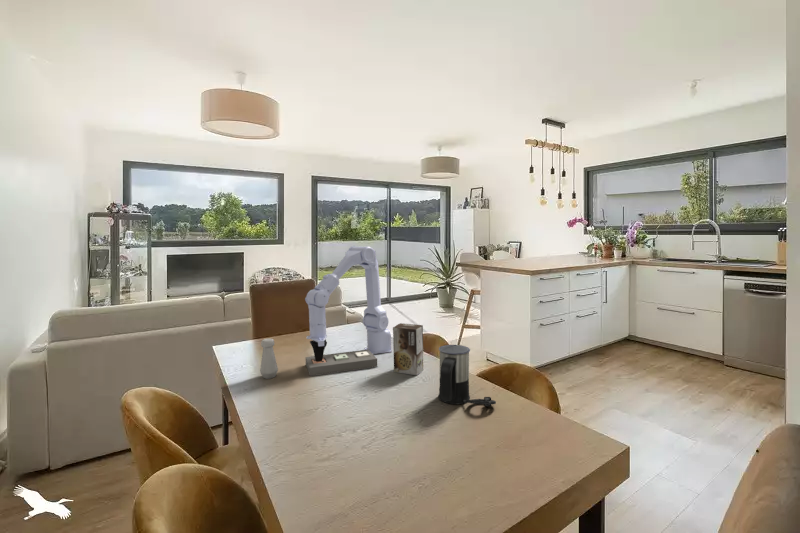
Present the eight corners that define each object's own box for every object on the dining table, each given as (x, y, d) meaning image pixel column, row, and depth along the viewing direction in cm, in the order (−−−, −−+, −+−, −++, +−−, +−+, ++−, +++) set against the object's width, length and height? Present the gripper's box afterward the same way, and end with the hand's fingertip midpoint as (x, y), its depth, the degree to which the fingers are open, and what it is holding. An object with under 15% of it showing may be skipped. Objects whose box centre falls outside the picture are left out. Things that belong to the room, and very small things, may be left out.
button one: (366, 357, 147) (366, 350, 147) (369, 361, 143) (369, 354, 143) (355, 358, 145) (355, 352, 145) (358, 362, 141) (357, 355, 141)
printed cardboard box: (424, 369, 137) (423, 324, 135) (417, 375, 131) (416, 329, 129) (400, 366, 141) (400, 322, 139) (392, 372, 135) (392, 326, 133)
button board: (368, 356, 151) (368, 349, 151) (377, 366, 140) (377, 358, 140) (305, 364, 143) (305, 357, 143) (310, 376, 132) (309, 367, 131)
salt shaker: (281, 374, 134) (280, 337, 132) (271, 380, 128) (269, 342, 127) (267, 372, 136) (266, 336, 134) (256, 378, 130) (254, 340, 129)
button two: (345, 360, 144) (345, 353, 144) (348, 363, 140) (348, 356, 140) (334, 361, 143) (333, 354, 142) (336, 365, 139) (336, 358, 138)
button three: (324, 364, 142) (324, 357, 141) (326, 368, 137) (326, 361, 137) (312, 366, 140) (311, 359, 140) (313, 370, 136) (313, 363, 136)
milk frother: (438, 390, 119) (438, 343, 117) (490, 392, 117) (491, 344, 116) (438, 412, 104) (438, 359, 103) (497, 414, 103) (498, 360, 102)
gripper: (303, 320, 143) (305, 355, 144) (308, 329, 129) (310, 368, 130) (323, 318, 145) (324, 353, 146) (329, 327, 131) (331, 365, 133)
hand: (318, 360), depth 138 cm, fingers closed, pressing on button three
